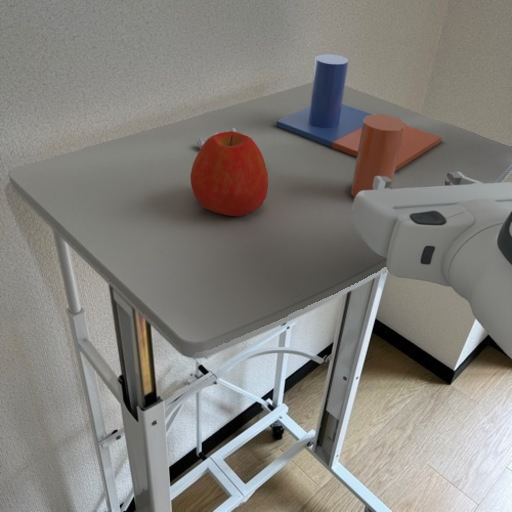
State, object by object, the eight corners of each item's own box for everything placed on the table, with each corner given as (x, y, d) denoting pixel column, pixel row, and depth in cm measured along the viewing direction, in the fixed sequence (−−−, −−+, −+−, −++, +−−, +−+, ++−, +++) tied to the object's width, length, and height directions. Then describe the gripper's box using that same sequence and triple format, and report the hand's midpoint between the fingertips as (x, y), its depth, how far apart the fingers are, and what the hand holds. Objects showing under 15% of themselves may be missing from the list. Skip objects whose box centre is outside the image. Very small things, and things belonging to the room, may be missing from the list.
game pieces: (200, 151, 88) (200, 140, 87) (193, 147, 89) (193, 135, 88) (240, 140, 92) (240, 129, 91) (232, 136, 94) (233, 125, 93)
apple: (187, 224, 71) (185, 149, 65) (195, 185, 79) (194, 115, 73) (266, 228, 71) (272, 153, 65) (266, 189, 79) (271, 120, 73)
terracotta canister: (396, 194, 80) (412, 122, 74) (376, 208, 77) (392, 134, 70) (363, 181, 83) (377, 111, 76) (343, 193, 79) (355, 121, 73)
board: (440, 142, 96) (441, 137, 95) (394, 171, 86) (396, 166, 85) (327, 104, 108) (328, 99, 108) (276, 126, 98) (276, 120, 98)
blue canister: (345, 122, 99) (354, 59, 92) (327, 130, 95) (336, 66, 89) (320, 113, 101) (327, 52, 95) (302, 121, 98) (308, 58, 91)
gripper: (577, 211, 55) (500, 151, 66) (388, 224, 51) (340, 158, 62) (554, 261, 59) (485, 197, 70) (376, 277, 55) (332, 206, 66)
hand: (415, 179), depth 66 cm, fingers open, 8 cm apart
